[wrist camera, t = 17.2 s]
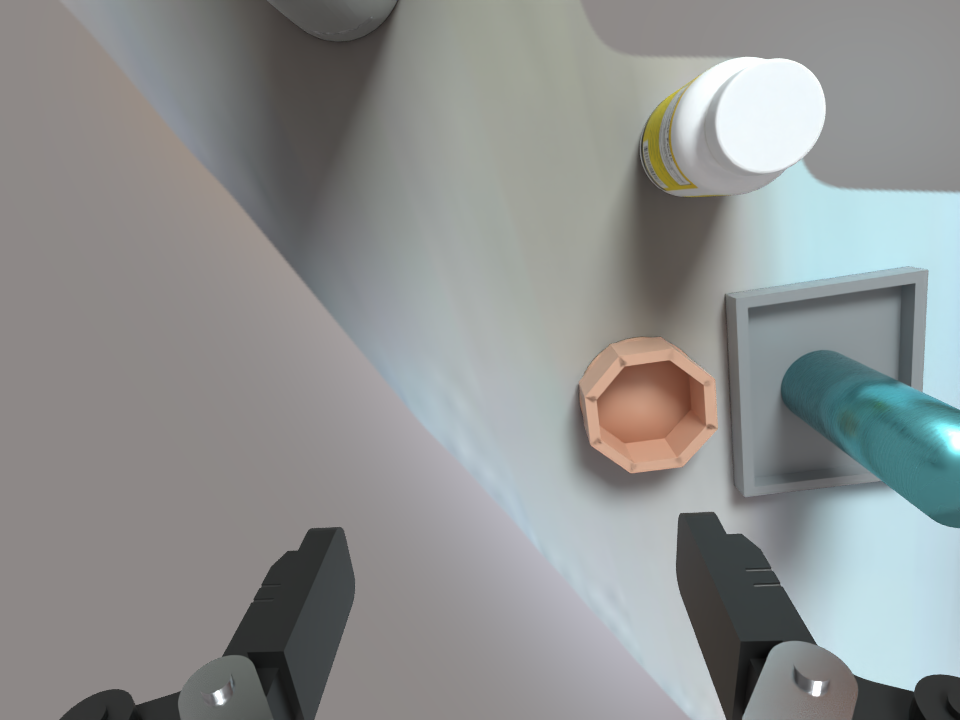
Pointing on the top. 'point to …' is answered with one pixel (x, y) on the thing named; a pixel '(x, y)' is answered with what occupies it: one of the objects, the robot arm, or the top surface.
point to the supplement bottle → (733, 128)
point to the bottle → (882, 428)
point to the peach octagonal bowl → (647, 404)
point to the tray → (803, 329)
